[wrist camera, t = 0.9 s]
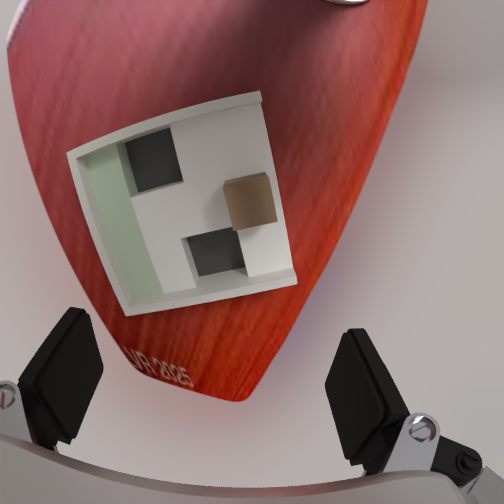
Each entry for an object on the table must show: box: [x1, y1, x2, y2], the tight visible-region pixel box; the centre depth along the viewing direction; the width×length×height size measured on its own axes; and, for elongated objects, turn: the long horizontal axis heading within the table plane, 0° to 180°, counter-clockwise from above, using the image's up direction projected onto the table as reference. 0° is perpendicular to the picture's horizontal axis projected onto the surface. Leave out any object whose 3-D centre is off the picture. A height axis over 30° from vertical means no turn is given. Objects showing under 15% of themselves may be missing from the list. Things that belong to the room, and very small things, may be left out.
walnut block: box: [223, 172, 278, 231], centre depth 27 cm, size 4×4×4 cm
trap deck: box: [67, 91, 297, 316], centre depth 29 cm, size 20×20×5 cm
